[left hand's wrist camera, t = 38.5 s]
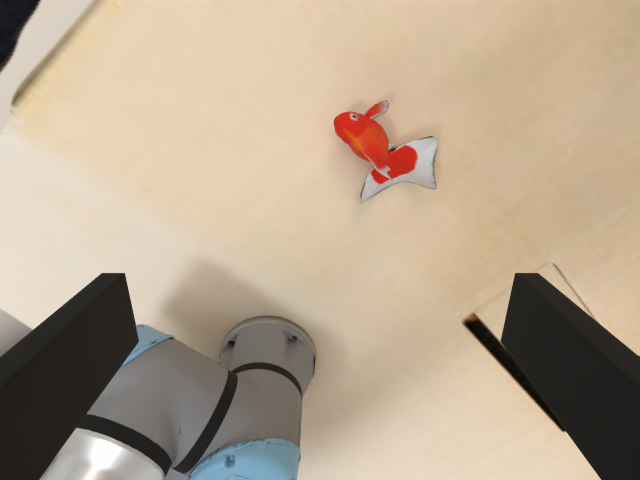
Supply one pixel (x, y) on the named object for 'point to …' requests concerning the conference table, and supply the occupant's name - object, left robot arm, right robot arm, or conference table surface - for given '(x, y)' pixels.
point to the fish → (386, 152)
